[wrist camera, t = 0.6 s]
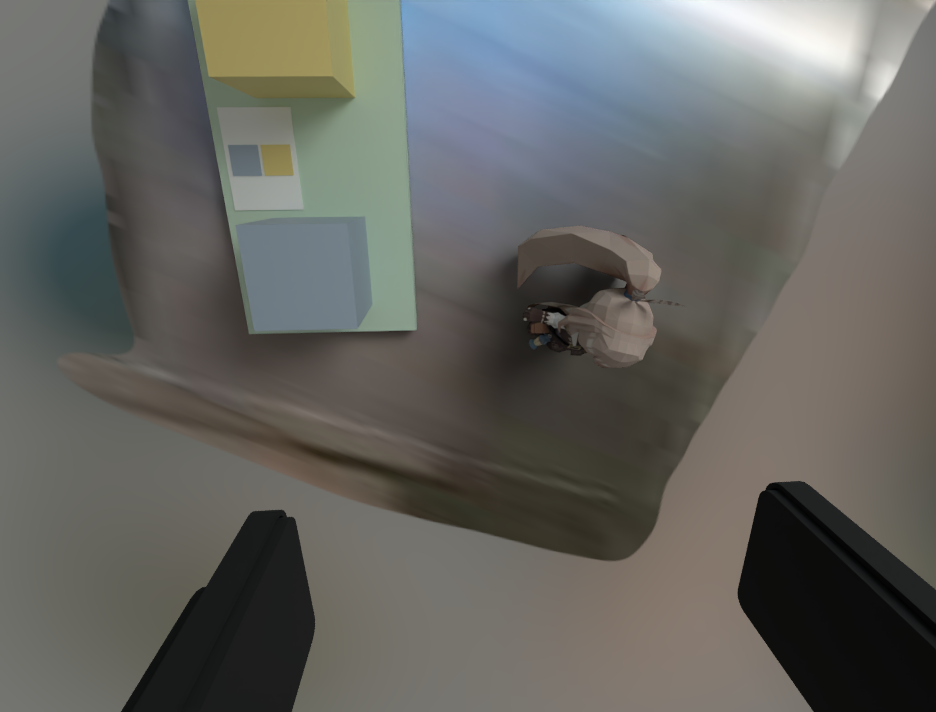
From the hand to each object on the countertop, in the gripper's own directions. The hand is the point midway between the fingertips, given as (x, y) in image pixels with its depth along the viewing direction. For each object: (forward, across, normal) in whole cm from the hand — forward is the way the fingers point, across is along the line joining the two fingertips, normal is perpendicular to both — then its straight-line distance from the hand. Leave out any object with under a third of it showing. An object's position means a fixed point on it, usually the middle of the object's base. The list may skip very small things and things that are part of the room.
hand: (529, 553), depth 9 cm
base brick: (+25, +10, -2) cm, 27 cm away
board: (+26, +10, -8) cm, 29 cm away
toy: (+27, -7, 0) cm, 28 cm away
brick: (+25, +10, -15) cm, 31 cm away
